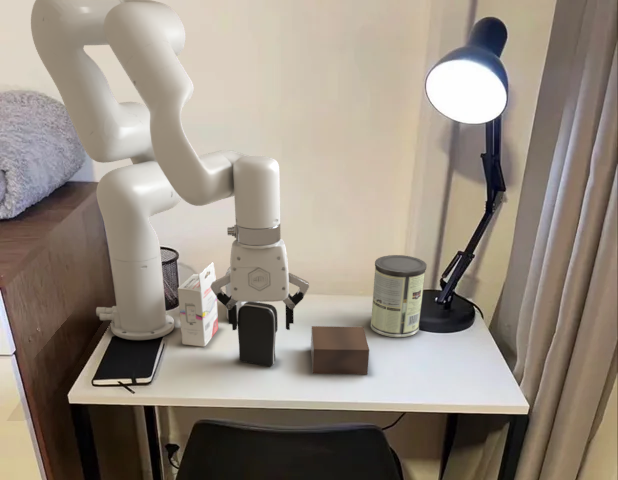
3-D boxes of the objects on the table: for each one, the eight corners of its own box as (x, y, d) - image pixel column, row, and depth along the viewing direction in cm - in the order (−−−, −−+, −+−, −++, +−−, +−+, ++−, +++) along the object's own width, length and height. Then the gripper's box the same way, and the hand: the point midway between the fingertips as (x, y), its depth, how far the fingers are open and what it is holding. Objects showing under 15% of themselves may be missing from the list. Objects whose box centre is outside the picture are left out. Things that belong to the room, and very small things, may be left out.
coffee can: (377, 314, 145) (383, 251, 138) (423, 322, 142) (432, 259, 135) (363, 332, 137) (368, 266, 130) (411, 341, 134) (419, 274, 127)
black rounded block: (279, 359, 126) (279, 302, 120) (273, 367, 122) (273, 310, 117) (244, 353, 127) (243, 297, 121) (237, 362, 124) (236, 305, 118)
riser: (312, 373, 121) (313, 349, 118) (310, 349, 129) (311, 326, 127) (367, 374, 121) (369, 349, 119) (361, 350, 130) (363, 326, 127)
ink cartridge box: (195, 327, 137) (191, 258, 129) (218, 329, 136) (216, 260, 129) (180, 344, 130) (175, 272, 122) (204, 347, 129) (201, 275, 121)
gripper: (204, 240, 109) (211, 336, 117) (310, 240, 109) (309, 335, 118) (209, 228, 115) (215, 319, 124) (308, 227, 116) (308, 318, 124)
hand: (261, 327), depth 121 cm, fingers open, 9 cm apart
